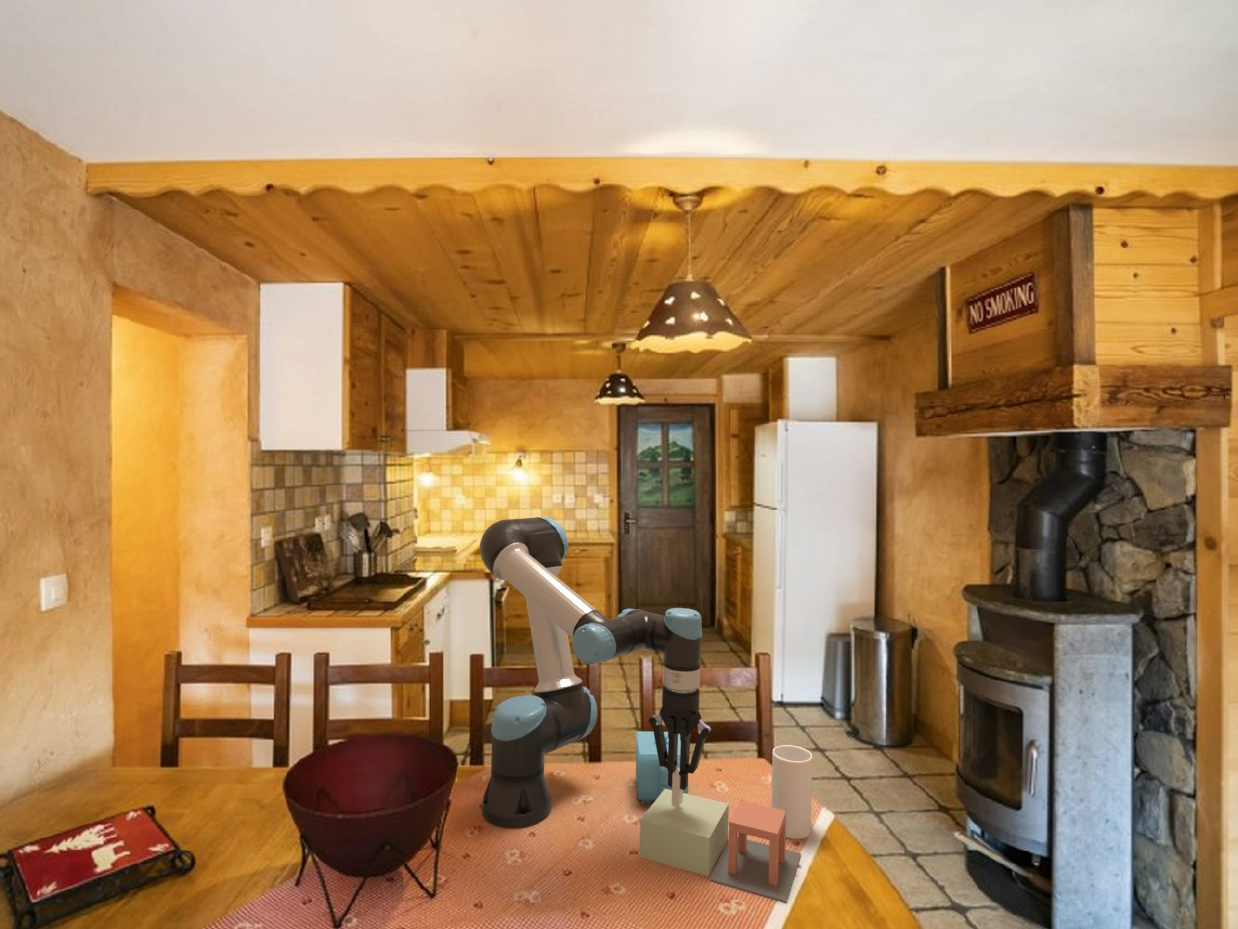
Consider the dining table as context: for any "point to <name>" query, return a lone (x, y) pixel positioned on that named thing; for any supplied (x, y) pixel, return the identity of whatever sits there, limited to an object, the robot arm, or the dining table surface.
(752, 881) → the mat
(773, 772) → the cup
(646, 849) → the step block
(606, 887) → the dining table surface
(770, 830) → the stool
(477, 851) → the dining table surface
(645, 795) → the teapot
